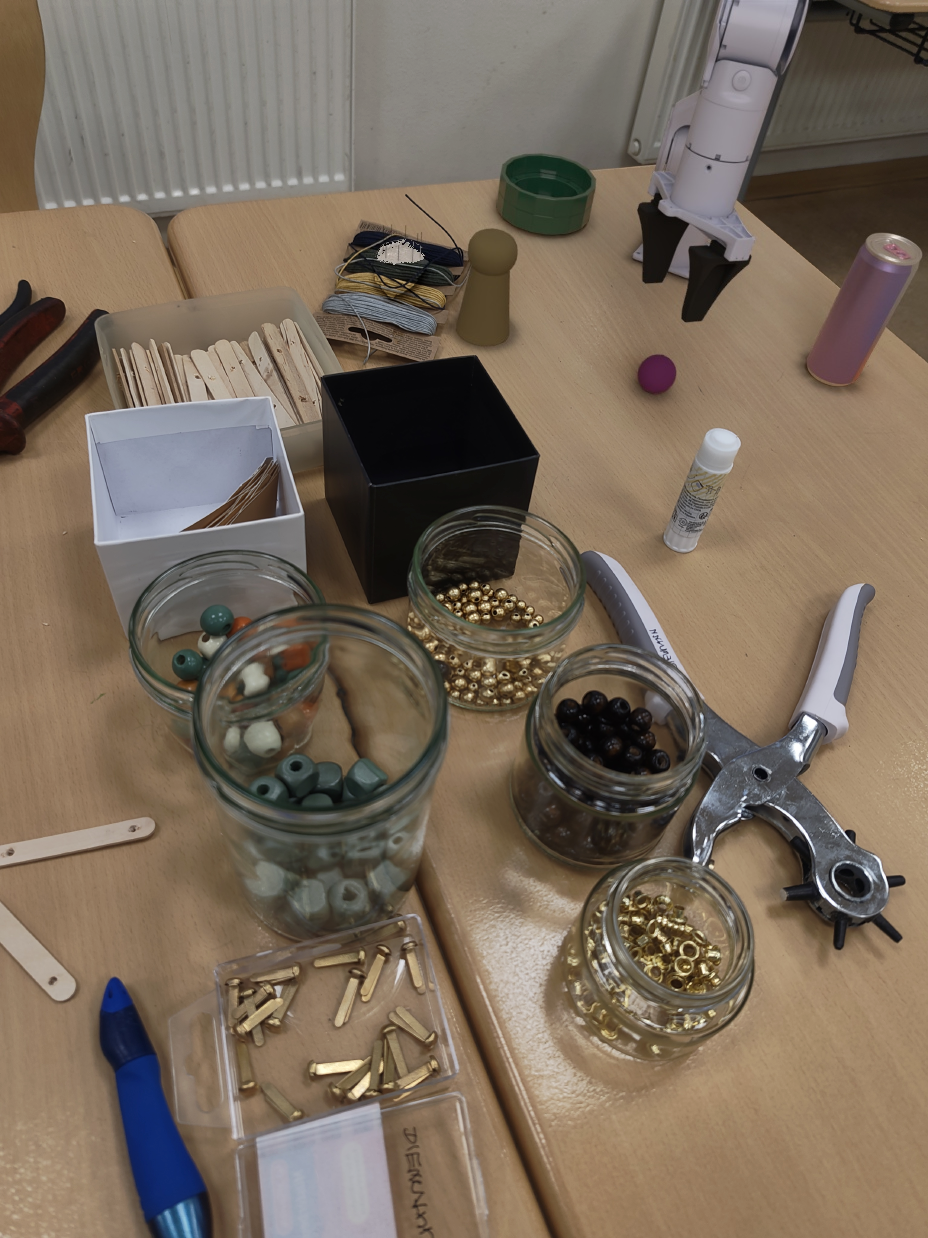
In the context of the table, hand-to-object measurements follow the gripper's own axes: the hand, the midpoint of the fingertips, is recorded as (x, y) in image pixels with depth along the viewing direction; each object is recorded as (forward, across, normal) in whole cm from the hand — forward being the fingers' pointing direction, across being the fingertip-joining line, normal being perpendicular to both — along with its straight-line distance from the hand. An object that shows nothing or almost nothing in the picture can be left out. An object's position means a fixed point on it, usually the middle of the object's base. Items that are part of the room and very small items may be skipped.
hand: (671, 300), depth 84 cm
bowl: (+8, -38, +5) cm, 39 cm away
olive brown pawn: (+11, -15, -12) cm, 22 cm away
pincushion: (+10, -28, -18) cm, 34 cm away
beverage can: (+10, +1, +24) cm, 26 cm away
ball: (+11, -1, +2) cm, 11 cm away
